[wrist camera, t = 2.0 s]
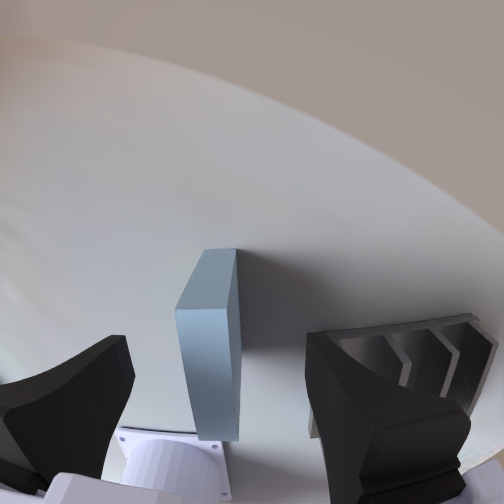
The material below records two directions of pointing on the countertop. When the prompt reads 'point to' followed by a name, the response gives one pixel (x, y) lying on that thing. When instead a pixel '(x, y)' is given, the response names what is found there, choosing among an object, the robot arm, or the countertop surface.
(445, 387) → the rack
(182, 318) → the panel
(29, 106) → the countertop surface
